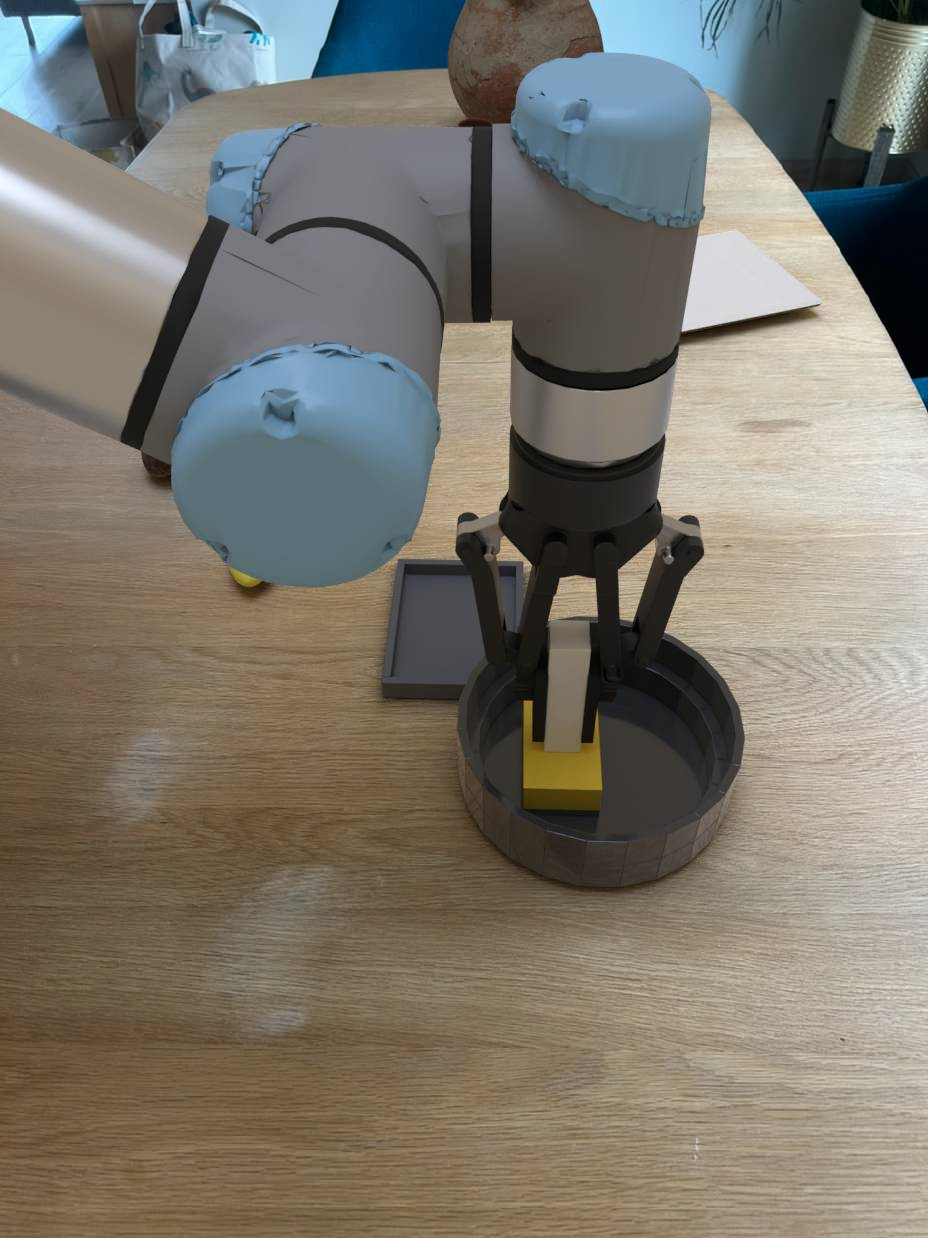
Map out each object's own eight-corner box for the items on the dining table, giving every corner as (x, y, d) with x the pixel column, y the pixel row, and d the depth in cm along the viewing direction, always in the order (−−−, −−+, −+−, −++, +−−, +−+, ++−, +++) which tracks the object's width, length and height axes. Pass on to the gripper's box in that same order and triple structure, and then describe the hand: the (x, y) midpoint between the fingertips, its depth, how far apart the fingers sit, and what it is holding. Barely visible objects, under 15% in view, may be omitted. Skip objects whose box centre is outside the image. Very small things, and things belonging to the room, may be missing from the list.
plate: (666, 349, 106) (669, 331, 104) (594, 270, 118) (595, 253, 116) (820, 317, 110) (825, 300, 108) (734, 244, 122) (738, 227, 120)
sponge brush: (599, 816, 65) (616, 687, 56) (522, 814, 65) (527, 686, 56) (593, 719, 71) (608, 587, 61) (522, 717, 71) (527, 586, 61)
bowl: (404, 767, 69) (399, 712, 65) (584, 634, 77) (590, 579, 73) (601, 951, 60) (610, 902, 55) (782, 777, 68) (802, 723, 64)
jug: (587, 110, 153) (604, -132, 131) (609, 167, 138) (632, -95, 117) (446, 115, 153) (440, -127, 131) (453, 173, 138) (446, -89, 116)
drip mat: (522, 701, 73) (522, 686, 72) (383, 697, 73) (381, 682, 72) (522, 575, 82) (523, 560, 81) (399, 573, 82) (397, 558, 81)
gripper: (739, 381, 50) (676, 684, 67) (432, 378, 51) (446, 679, 68) (764, 474, 45) (688, 777, 62) (421, 470, 46) (439, 770, 63)
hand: (562, 725), depth 65 cm, fingers closed on sponge brush, 2 cm apart
